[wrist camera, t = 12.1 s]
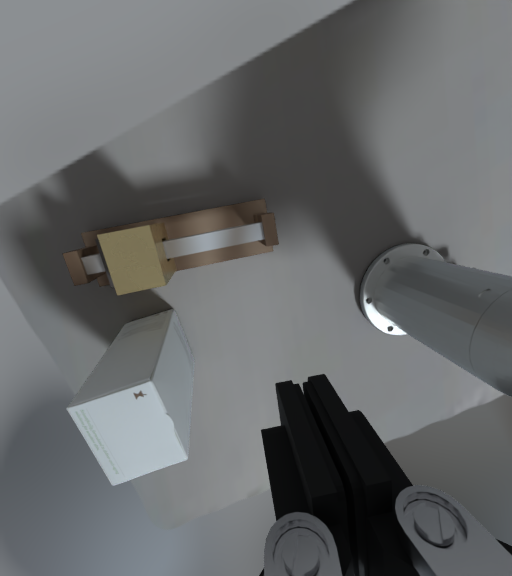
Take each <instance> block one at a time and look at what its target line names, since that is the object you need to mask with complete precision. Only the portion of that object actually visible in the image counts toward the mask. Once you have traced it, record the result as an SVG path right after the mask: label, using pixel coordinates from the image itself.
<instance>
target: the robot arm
mask: <svg viewBox="0 0 512 576" xmlns="http://www.w3.org/2000/svg"><path fill="white" fill-rule="evenodd" d="M360 304H361V308H362V311H363V313H364V315H365V317H366V318H367V320H368V321H369V322H370V323H371V324H372V325H373V326H374V327H376V328H377V329H379V330H380V331H382V332H384V333H387V334H391V335H406V334H408V335H410V336H411V337H413V338H415V339H416V340H418V341H419V342H421V343H423V344H424V345H426V346H427V347H429V348H431V349H432V350H434V351H435V352H437V353H439V354H440V355H442V356H443V357H445V358H447V359H448V360H450V361H451V362H453V363H455V364H456V365H458V366H459V367H461V368H463V369H464V370H466V371H467V372H469V373H471V374H472V375H474V376H475V377H477V378H479V379H480V380H482V381H483V382H485V383H487V384H488V385H490V386H492V387H493V388H495V389H496V390H498V391H500V392H502V393H504V394H506V395H508V396H511V397H512V276H507V275H503V274H498V273H493V272H489V271H484V270H479V269H476V268H470V267H465V266H460V265H456V264H451V263H446V262H445V260H444V258H443V257H442V256H441V255H440V254H439V253H438V252H437V251H436V250H434V249H432V248H431V247H428V246H425V245H421V244H415V243H411V244H401V245H397V246H395V247H392V248H390V249H388V250H387V251H385V252H384V253H382V254H381V255H380V256H379V257H377V258H376V259H375V260H374V261H373V263H372V264H371V265H370V267H369V268H368V270H367V272H366V273H365V275H364V278H363V281H362V284H361V289H360ZM303 391H304V394H303V392H302V390H301V387H300V385H299V384H293V382H292V381H291V380H290V381H285V382H279V383H276V393H277V400H278V407H279V414H280V421H281V426H277V427H273V428H268V429H263V430H261V433H262V439H263V445H264V451H265V457H266V463H267V469H268V475H269V481H270V486H271V492H272V498H273V504H274V510H275V516H276V522H275V524H274V525H273V526H272V527H271V529H270V531H269V533H268V536H267V538H266V543H265V550H264V569H263V570H262V572H261V574H260V575H259V576H354V574H355V576H512V546H510V545H508V544H506V543H503V542H502V541H499V540H497V539H495V538H494V537H493V536H492V535H491V534H490V533H489V532H488V531H487V530H486V529H485V528H484V527H483V526H482V525H481V524H480V523H479V522H478V521H477V520H476V519H475V518H474V517H473V516H472V515H471V514H470V513H469V512H468V511H467V510H466V509H465V508H464V507H463V506H462V505H461V504H460V503H459V502H457V501H456V500H455V499H454V498H452V497H451V496H450V495H448V494H446V493H444V492H443V491H441V490H438V489H435V488H432V487H429V486H422V485H415V486H413V485H412V484H411V482H410V481H409V479H408V478H407V476H406V475H405V473H404V472H403V470H402V469H401V468H400V466H399V465H398V463H397V462H396V460H395V459H394V458H393V456H392V455H391V454H390V452H389V450H388V449H387V448H386V446H385V445H384V443H383V442H382V440H381V439H380V438H379V436H378V435H377V433H376V432H375V430H374V429H373V427H372V426H371V425H370V423H369V422H368V420H367V419H366V417H365V416H364V415H363V413H362V412H361V411H359V410H357V411H352V412H348V410H347V409H346V407H345V405H344V404H343V402H342V401H341V399H340V398H339V396H338V394H337V393H336V391H335V390H334V388H333V386H332V385H331V383H330V382H329V380H328V379H327V377H326V376H325V374H321V375H316V376H311V377H308V382H303Z"/></svg>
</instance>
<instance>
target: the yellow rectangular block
mask: <svg viewBox="0 0 512 576" xmlns="http://www.w3.org/2000/svg"><path fill="white" fill-rule="evenodd" d="M97 236H98V239H99V242H100V245H101V248H102V251H103V254H104V257H105V260H106V263H107V266H108V269H109V272H110V275H111V278H112V281H113V284H114V287H115V290H116V293H117V296H118V295H122V294H127V293H132V292H137V291H142V290H146V289H151V288H156V287H161V286H165V285H167V283H168V282H169V280H170V279H171V277H172V276H173V274H174V273H175V271H176V270H177V269H176V265H175V261H174V258H169V259H167V257H166V253H165V250H164V246H163V242H162V241H165V240H169V239H168V235H167V231H166V228H165V224H164V222H163V223H158V224H152V225H147V226H142V227H137V228H131V229H126V230H121V231H115V232H110V233H105V234H100V235H97Z"/></svg>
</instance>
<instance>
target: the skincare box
mask: <svg viewBox="0 0 512 576" xmlns="http://www.w3.org/2000/svg"><path fill="white" fill-rule="evenodd" d="M194 364H195V361H194V358H193V355H192V352H191V350H190V347H189V345H188V342H187V340H186V337H185V334H184V332H183V329H182V327H181V324H180V322H179V319H178V317H177V315H176V312H175V310H174V309H171V310H167V311H164V312H161V313H157V314H154V315H151V316H148V317H144V318H141V319H138V320H135V321H132V322H129V323H126V324H125V325H124V326H123V328H122V329H121V331H120V332H119V333H118V335H117V336H116V338H115V339H114V341H113V342H112V344H111V345H110V346H109V348H108V349H107V351H106V352H105V354H104V355H103V357H102V358H101V360H100V361H99V362H98V364H97V365H96V367H95V368H94V370H93V371H92V373H91V374H90V375H89V377H88V378H87V380H86V381H85V383H84V384H83V386H82V387H81V388H80V390H79V392H78V393H77V394H76V396H75V397H74V399H73V400H72V401H71V403H70V404H69V406H68V407H67V410H68V412H69V414H70V415H71V417H72V418H73V420H74V422H75V423H76V425H77V427H78V428H79V430H80V432H81V433H82V435H83V437H84V438H85V440H86V442H87V443H88V445H89V447H90V449H91V450H92V452H93V454H94V455H95V457H96V459H97V460H98V462H99V464H100V466H101V467H102V469H103V471H104V472H105V474H106V475H107V477H108V479H109V481H110V482H111V484H112V486H114V485H117V484H120V483H122V482H125V481H128V480H131V479H134V478H136V477H139V476H141V475H144V474H147V473H150V472H153V471H156V470H158V469H161V468H164V467H167V466H170V465H173V464H176V463H179V462H181V461H184V460H187V459H188V453H189V438H190V423H191V407H192V393H193V377H194Z"/></svg>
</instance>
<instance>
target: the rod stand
mask: <svg viewBox="0 0 512 576" xmlns="http://www.w3.org/2000/svg"><path fill="white" fill-rule="evenodd" d="M163 222H164V224H165V228H166V231H167V235H168V239H169V240H165V241H162V242H163V246H164V250H165V253H166V257H167V259H169V258H174V261H175V265H176V269H177V270H176V271H179V270H184V269H189V268H194V267H198V266H203V265H208V264H213V263H218V262H223V261H228V260H232V259H237V258H242V257H247V256H252V255H257V254H262V253H267V252H271V251H273V245H278V244H279V243H278V237H277V230H276V224H275V218H274V213H267V209H266V203H265V199H260V200H254V201H249V202H244V203H238V204H233V205H228V206H222V207H217V208H212V209H206V210H201V211H196V212H190V213H185V214H180V215H174V216H169V217H164V218H158V219H153V220H148V221H142V222H137V223H132V224H127V225H121V226H116V227H111V228H105V229H100V230H95V231H89V232H84V233H81V235H82V238H83V241H84V244H85V246H86V247H85V248H81V249H78V250H74V251H70V252H67V253H63V256H64V259H65V262H66V264H67V267H68V270H69V272H70V275H71V278H72V280H73V283H74V286H76V285H81V284H86V283H89V282H91V281H93V280H95V279H96V278H97V281H98V284H99V286H100V287H101V286H106V285H110V286H111V288H114V284H113V281H112V278H111V275H110V272H109V269H108V266H107V263H106V260H105V257H104V254H103V251H102V248H101V245H100V242H99V239H98V236H97V235H100V234H105V233H110V232H115V231H121V230H126V229H131V228H137V227H142V226H147V225H152V224H158V223H163Z"/></svg>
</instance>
